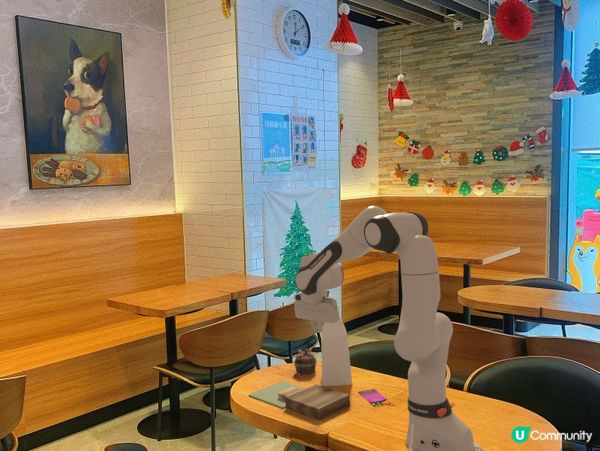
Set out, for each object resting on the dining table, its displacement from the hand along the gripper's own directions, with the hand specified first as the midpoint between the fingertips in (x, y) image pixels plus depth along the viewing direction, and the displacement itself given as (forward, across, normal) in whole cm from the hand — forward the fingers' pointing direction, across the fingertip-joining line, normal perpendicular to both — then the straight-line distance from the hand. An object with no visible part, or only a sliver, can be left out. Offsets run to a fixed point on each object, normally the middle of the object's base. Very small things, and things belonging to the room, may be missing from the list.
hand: (318, 332), depth 211 cm
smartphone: (+26, -16, -11) cm, 32 cm away
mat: (+24, +14, +8) cm, 30 cm away
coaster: (+24, +8, +8) cm, 27 cm away
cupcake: (+24, +25, -15) cm, 38 cm away
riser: (+25, -4, +8) cm, 27 cm away
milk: (+25, +8, -16) cm, 31 cm away
